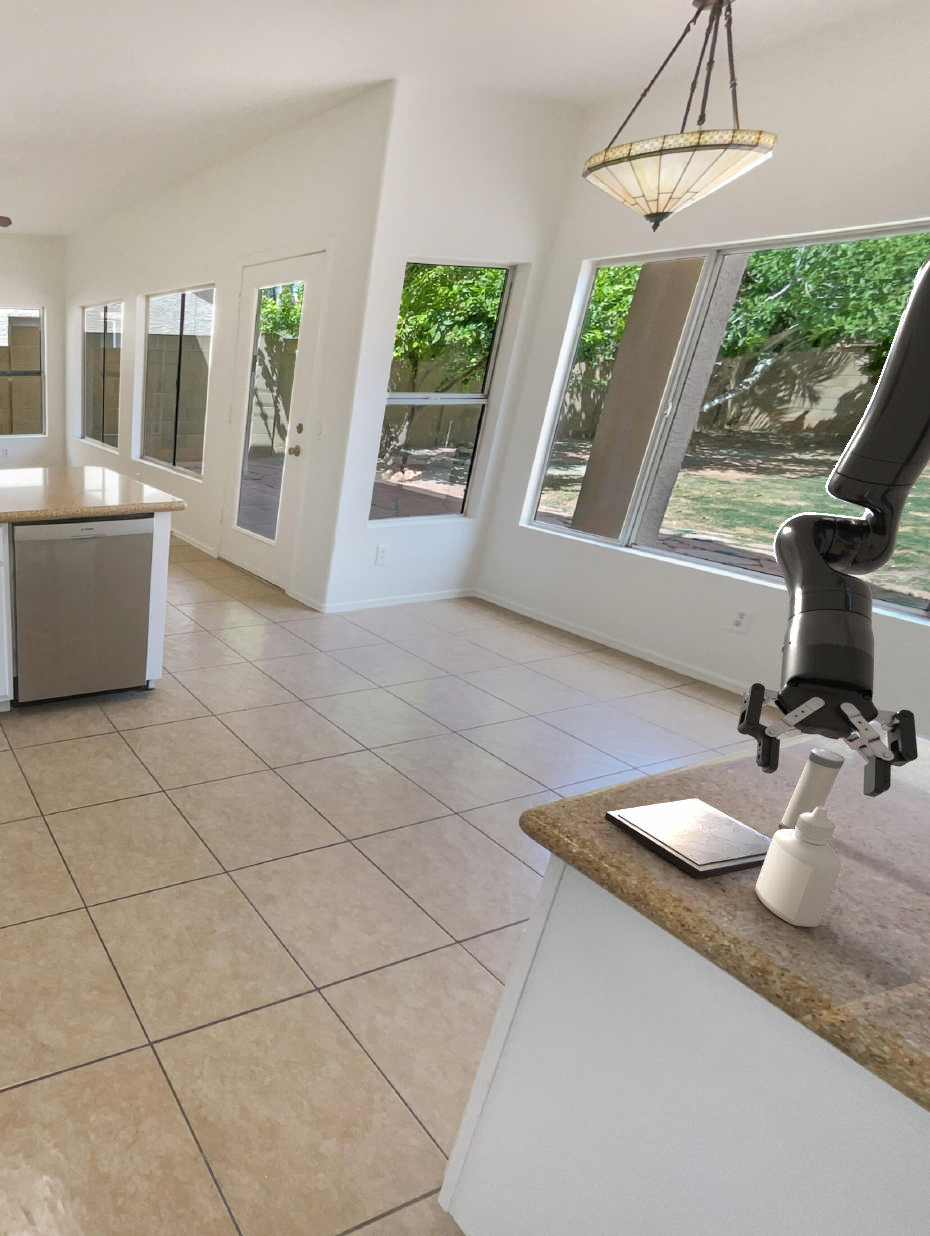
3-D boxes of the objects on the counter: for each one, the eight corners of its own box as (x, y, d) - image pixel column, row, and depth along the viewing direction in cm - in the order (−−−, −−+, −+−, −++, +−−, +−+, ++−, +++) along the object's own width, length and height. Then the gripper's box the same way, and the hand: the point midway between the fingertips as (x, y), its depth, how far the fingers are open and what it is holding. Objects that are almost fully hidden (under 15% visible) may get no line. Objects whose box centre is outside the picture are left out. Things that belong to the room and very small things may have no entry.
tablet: (693, 804, 87) (696, 797, 87) (795, 861, 77) (798, 852, 77) (604, 818, 84) (606, 811, 84) (697, 879, 74) (700, 870, 74)
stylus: (787, 827, 83) (822, 747, 79) (813, 841, 81) (851, 759, 77) (770, 830, 82) (805, 749, 79) (796, 844, 80) (834, 761, 76)
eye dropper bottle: (757, 916, 69) (793, 814, 65) (752, 884, 73) (786, 787, 69) (819, 935, 67) (861, 830, 62) (810, 901, 71) (849, 801, 67)
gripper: (761, 630, 83) (751, 754, 78) (932, 655, 77) (932, 793, 71) (736, 657, 90) (725, 773, 84) (892, 682, 83) (890, 811, 77)
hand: (820, 782), depth 78 cm, fingers open, 8 cm apart
